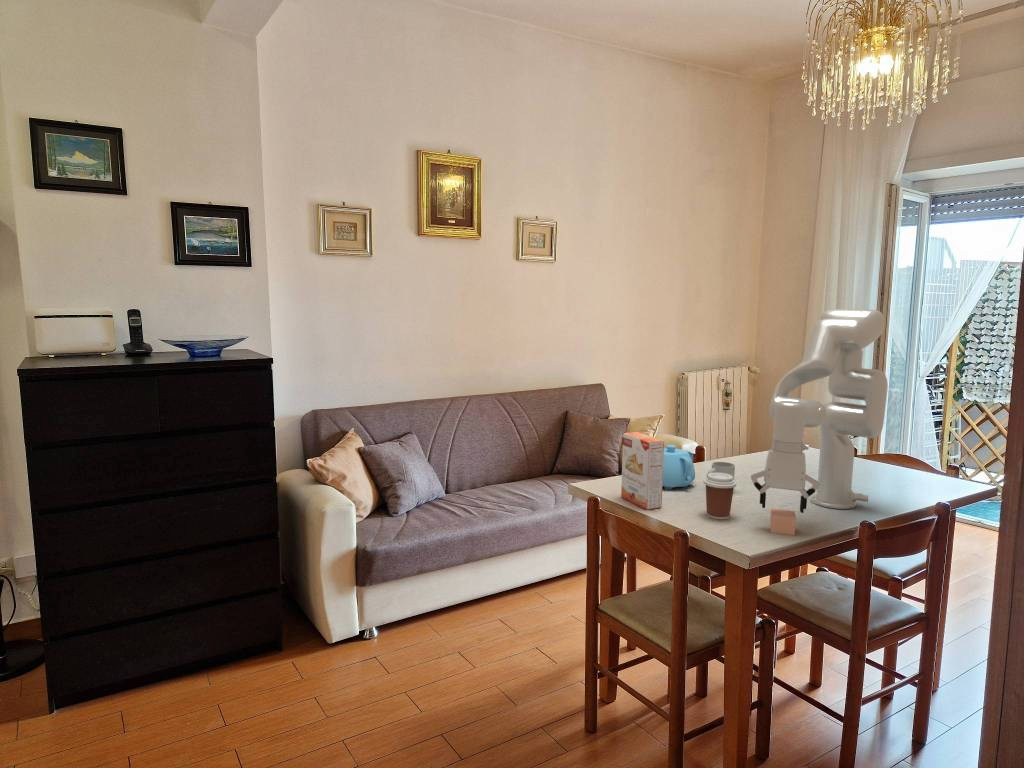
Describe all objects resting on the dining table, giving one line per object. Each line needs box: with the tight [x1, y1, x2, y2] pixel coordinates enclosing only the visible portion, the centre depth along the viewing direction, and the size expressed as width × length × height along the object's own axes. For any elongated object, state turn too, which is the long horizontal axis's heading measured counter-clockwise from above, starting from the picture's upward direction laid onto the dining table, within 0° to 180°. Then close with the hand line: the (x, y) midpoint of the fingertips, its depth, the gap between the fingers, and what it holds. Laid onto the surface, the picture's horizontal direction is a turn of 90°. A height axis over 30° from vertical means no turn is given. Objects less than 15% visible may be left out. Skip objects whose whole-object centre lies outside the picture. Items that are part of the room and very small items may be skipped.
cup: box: [705, 461, 736, 481], centre depth 216 cm, size 7×10×9 cm
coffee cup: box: [702, 473, 737, 520], centre depth 191 cm, size 9×9×12 cm
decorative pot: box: [662, 444, 696, 490], centre depth 223 cm, size 16×16×14 cm
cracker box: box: [620, 431, 665, 511], centre depth 202 cm, size 14×6×21 cm, turn 23°
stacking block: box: [769, 508, 797, 536], centre depth 181 cm, size 6×6×5 cm
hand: (782, 509), depth 180 cm, fingers open, 9 cm apart
